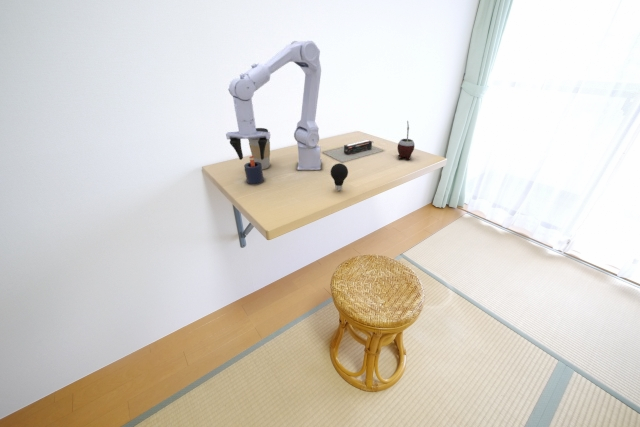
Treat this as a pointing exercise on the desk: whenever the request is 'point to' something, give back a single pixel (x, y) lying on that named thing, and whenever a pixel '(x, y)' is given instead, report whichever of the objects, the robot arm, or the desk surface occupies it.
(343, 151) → the model train on plate
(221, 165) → the desk surface
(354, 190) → the desk surface
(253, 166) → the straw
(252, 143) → the coffee cup
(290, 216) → the desk surface
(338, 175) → the light bulb
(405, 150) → the mate gourd
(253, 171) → the navy hollow cylinder
